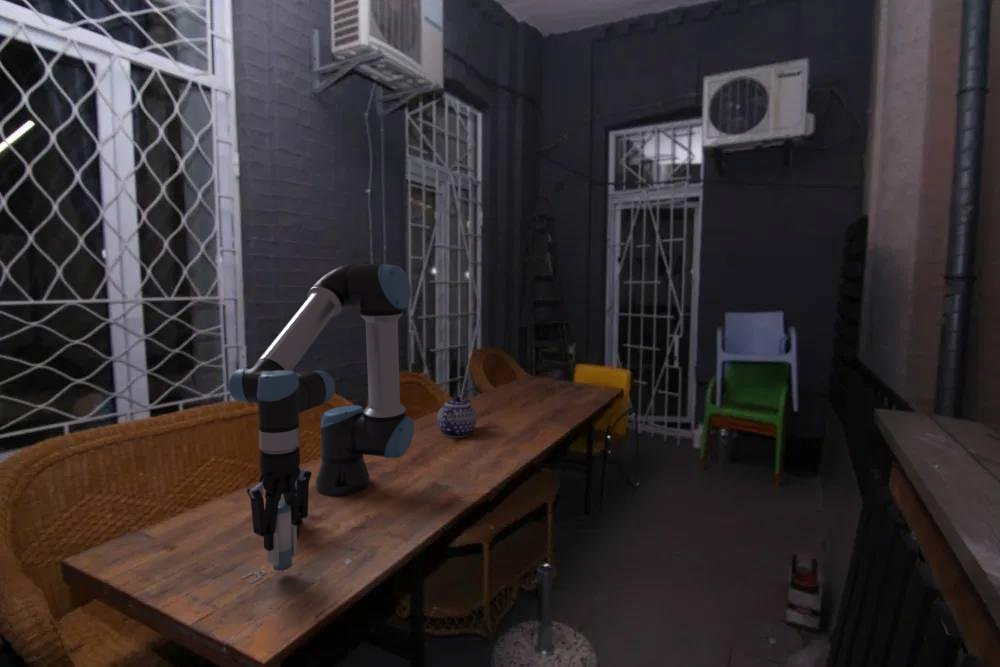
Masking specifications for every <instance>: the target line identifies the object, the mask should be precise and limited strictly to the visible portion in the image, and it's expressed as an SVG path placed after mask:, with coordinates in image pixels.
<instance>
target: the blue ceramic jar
mask: <svg viewBox="0 0 1000 667" xmlns="http://www.w3.org/2000/svg"><path fill="white" fill-rule="evenodd" d="M453 399H454V400H448V401H445V402H444V404H443V406H441V408H440V409H439V410H438V412H437V416H436V419H437V420H436V424H437V427H438V429H439V430H440V432H441V433H442V434H443V435H444V436H445V437H448V438H457V439H458V438H464V437H468V436H469V435H470V433H472V432H473V430H475V427H476V424H477V414H476V411H475V410H474V408H473V407H472V406H471V404H470V403H471V399H467V398H465V399H464V400H461V399H462V398H461V397H460V396H458V395H457V396H454V397H453Z"/></svg>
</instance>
